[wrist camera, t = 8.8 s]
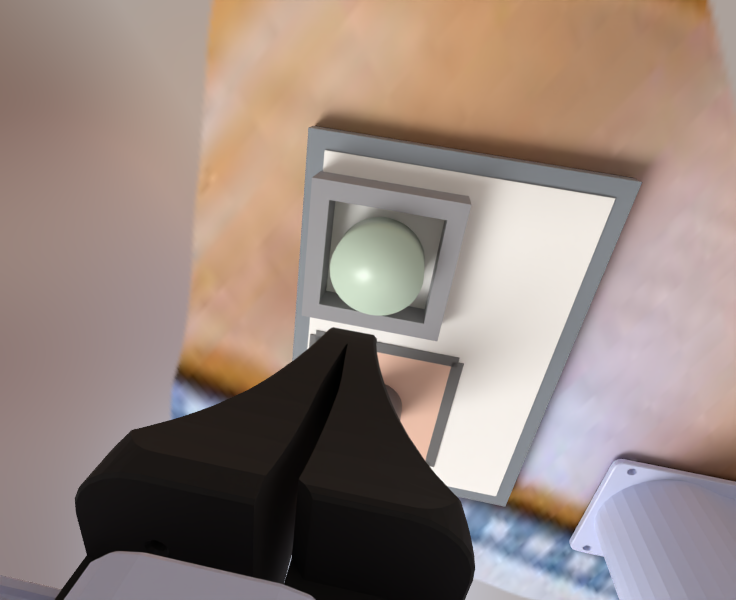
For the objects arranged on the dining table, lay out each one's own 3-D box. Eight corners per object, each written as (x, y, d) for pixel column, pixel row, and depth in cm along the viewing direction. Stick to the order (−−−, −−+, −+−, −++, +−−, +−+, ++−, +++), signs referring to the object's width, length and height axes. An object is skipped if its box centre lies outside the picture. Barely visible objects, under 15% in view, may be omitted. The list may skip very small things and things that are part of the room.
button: (433, 225, 19) (433, 237, 17) (415, 306, 21) (414, 323, 19) (342, 209, 19) (334, 219, 18) (333, 291, 21) (325, 306, 19)
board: (633, 177, 19) (660, 190, 16) (503, 494, 28) (509, 530, 26) (313, 125, 19) (298, 131, 17) (289, 449, 29) (277, 480, 26)
